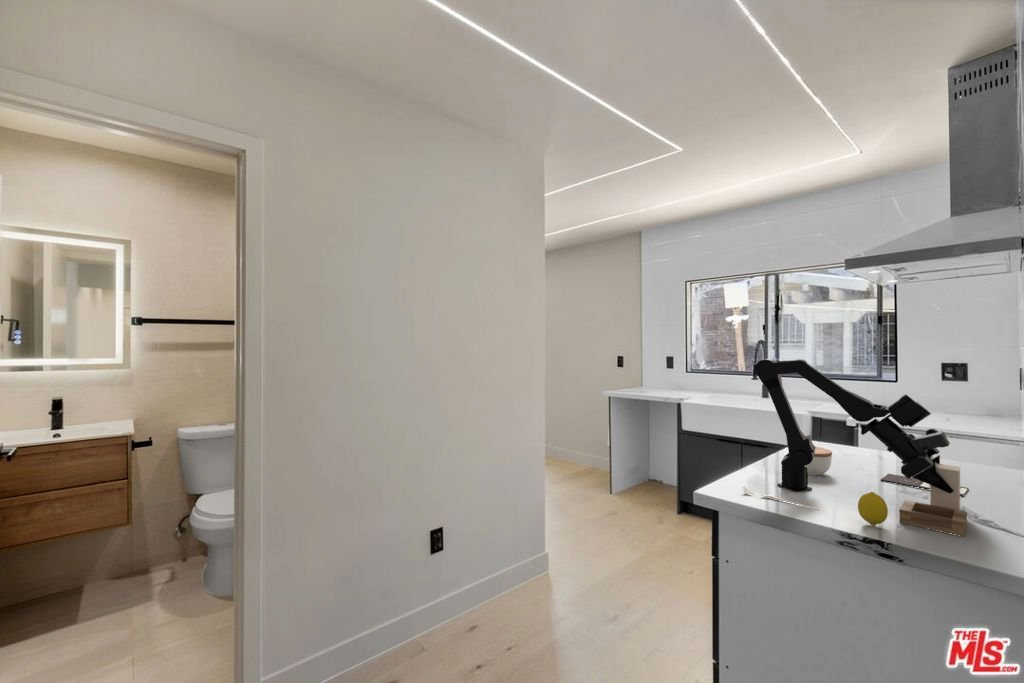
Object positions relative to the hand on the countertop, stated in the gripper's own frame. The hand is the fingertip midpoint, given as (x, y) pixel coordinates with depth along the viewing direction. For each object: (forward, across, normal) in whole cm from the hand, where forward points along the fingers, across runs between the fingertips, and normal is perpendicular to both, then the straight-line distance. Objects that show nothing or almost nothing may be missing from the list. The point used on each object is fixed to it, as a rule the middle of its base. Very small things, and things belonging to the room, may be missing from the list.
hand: (953, 489), depth 111 cm
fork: (-18, -18, +28) cm, 38 cm away
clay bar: (+4, 0, +6) cm, 7 cm away
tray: (+3, -9, +7) cm, 12 cm away
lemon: (-4, -20, +14) cm, 25 cm away
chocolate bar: (0, +25, +11) cm, 27 cm away
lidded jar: (-19, +16, +29) cm, 38 cm away
